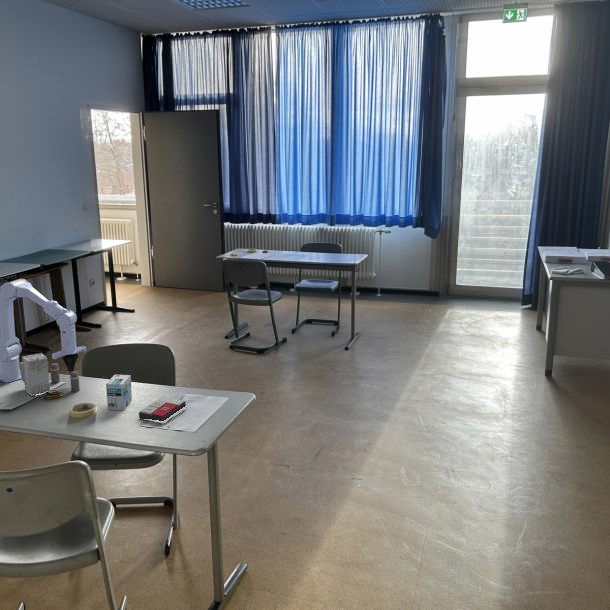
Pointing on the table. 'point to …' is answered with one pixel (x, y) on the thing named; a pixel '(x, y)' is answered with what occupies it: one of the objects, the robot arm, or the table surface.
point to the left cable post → (54, 373)
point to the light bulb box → (119, 392)
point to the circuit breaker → (35, 373)
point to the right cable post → (74, 381)
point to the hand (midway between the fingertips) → (70, 371)
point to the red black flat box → (162, 409)
